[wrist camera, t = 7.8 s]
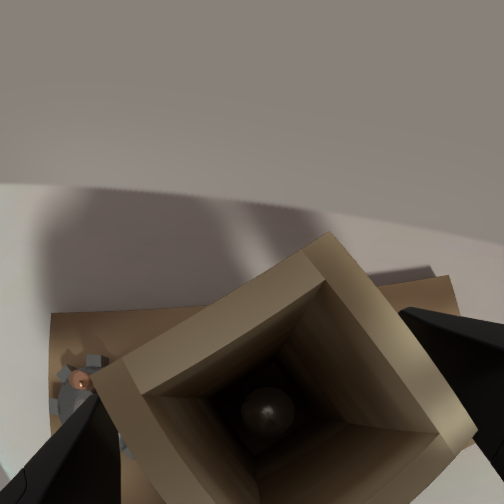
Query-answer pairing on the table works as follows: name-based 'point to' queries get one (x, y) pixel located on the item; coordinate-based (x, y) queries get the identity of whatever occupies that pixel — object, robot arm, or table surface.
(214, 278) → the table surface
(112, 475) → the robot arm
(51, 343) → the gear board
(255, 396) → the peg
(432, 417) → the open-ended square tube
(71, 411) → the drive gear
